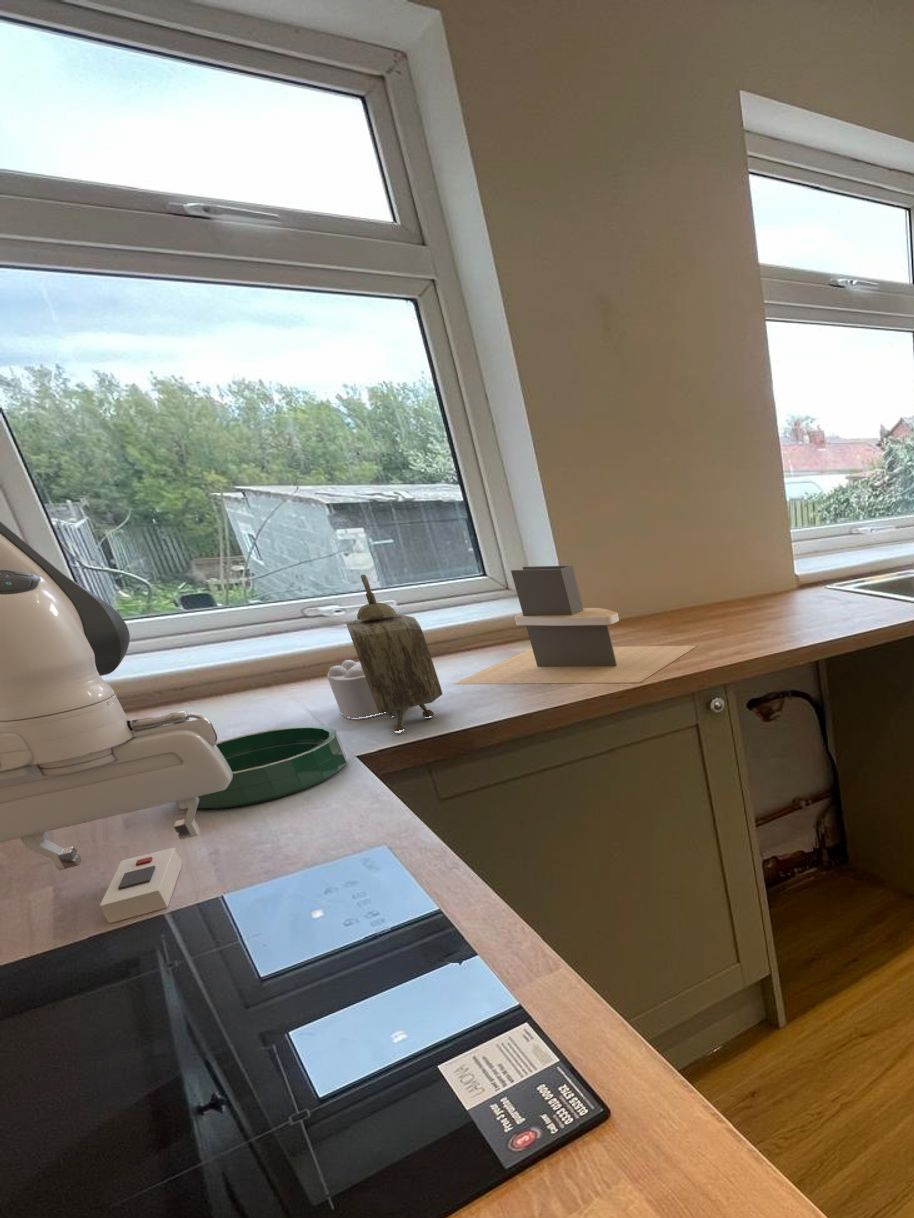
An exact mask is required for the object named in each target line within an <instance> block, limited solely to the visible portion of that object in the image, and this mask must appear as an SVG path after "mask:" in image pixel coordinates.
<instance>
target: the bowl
mask: <svg viewBox="0 0 914 1218" xmlns="http://www.w3.org/2000/svg"><path fill="white" fill-rule="evenodd" d="M215 745H216V746H217V747H218V749H219V750H220V752H221V753H222V755H223V756H224V758H225V759H226V761H227V763H228V765H229V766H230V768H231V770H232V774H233V777H232V780H231V782H230V784H229V785H228V787H227V788H226V789H225V790H223V791H219V792H214V793H210V794H206V795H202V796H198V798H199V803H198V806H197V809H205V810H208V809H209V810H210V809H212V810H213V809H228V808H237V807H243V806H249V805H254V804H255V805H256V804H259V803H263V802H267V801H272V800H276V799H279V798H283V797H287V796H290V795H293V794H295V793H298V792H302V791H304V790H307V789H309V788H311V787H315V786H316V785H318V784H320V783H322V782H324V781H326V780H328V779H330V778H332V777H333V776H334V775H335V774H336V773H338V772H340V770H342V769H343V768H344V766H346V765H347V756H346V754H345V753H346V752H345V751H344V748H343V745H342V743H341V741H340V738H339V736H338V732H337V731H336V730H335V729H333V728H331V727H329V726H321V725H300V726H298V725H297V726H288V727H281V728H273V729H267V730H262V731H257V732H252V733H248V734H242V735H239V736H236V737H232V738H227V739H224V740H220V741H217V742H216V744H215Z"/></svg>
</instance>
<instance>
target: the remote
mask: <svg viewBox="0 0 914 1218" xmlns="http://www.w3.org/2000/svg"><path fill="white" fill-rule="evenodd" d="M183 864H184V863H183V861H182V859H181V857H180V855H179V853H178V852H177V849H176V847H170V848H166V849H163V850H159V851H154V852H150V853H146V854H143V855H142V854H141V855H137V856H134V857H130V858H126V859H122V860H121V861H120V862H119V865H118V867H117V869H116V870H115V873H114V875H113V877H112V879H111V881H110V883H109V885H108V887H107V889H106V891H105V894H104V896H103V898H102V899H101V902H100V904H99V908H100V910H101V912H102V913H103V915H104V917H105V919H106V920H107V922H108V924H113V923H116V922H117V923H118V922H120V921H124V920H128V919H131V918H134V917H139V916H141V915H146V914H149V913H153V912H156V911H160V910H164V909H167V908H168V907H169V905H170V902H171V899H172V895H173V893H174V890H175V887H176V884H177V882H178V879H179V875H180V873H181V869H182V867H183Z"/></svg>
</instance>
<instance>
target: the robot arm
mask: <svg viewBox="0 0 914 1218" xmlns="http://www.w3.org/2000/svg"><path fill="white" fill-rule="evenodd" d="M130 638H131V634H130V631H129V627H128V625H127V623H126V622H125V619H124V618H123V617H122V616H121V614H120V613H119V612H118V611H117V610H116V608H114V607H113V606H111V604H109V603H107V602H106V601H105V600H104V599H102V598H101V597H99V596H98V595H97V594H96V593H93V592H92V591H90V590H89V589H87V588H86V587H83V586H82V585H81V584H79V583H77V581H75V580H73V579H71V578H70V577H69V576H67V575H66V574H64V573H63V572H62V571H60V570H59V569H58V568H57V567H55V566H54V565H53V564H52V563H51V562H49V561H48V560H47V559H46V558H45V557H43V556H42V555H41V554H40V553H39V552H37V551H36V550H35V549H34V548H33V547H31V546H30V545H29V544H28V543H27V542H25V540H23V539H22V538H21V537H20V536H19V535H17V533H15V532H13V531H12V530H11V529H10V528H9V527H8V526H6V524H4V523H3V522H2V521H0V843H4V842H9V841H13V840H17V839H20V840H21V842H22V843H23V845H24V846H25V848H27V849H30V850H32V851H34V852H36V853H38V854H40V855H43V856H45V857H47V858H50V859H51V861H52V863H53V865H54V866H55V868H56V869H57V870H58V871H63V870H66V869H67V870H68V869H71V868H74V867H78V866H80V865H81V863H82V858H81V855H80V854H78V853H77V852H78V850H77V849H76V847H75V846H67V847H61V846H60V845H59V844H56V843H54V842H53V841H50V840H49V839H47V838H48V837H49V835H50V832H51V831H56V830H60V829H64V828H68V827H73V826H76V825H77V826H78V825H81V824H85V823H90V822H94V821H98V820H102V819H108V818H111V817H117V816H120V815H123V814H128V813H132V812H137V811H142V810H146V809H150V808H154V807H159V806H162V805H166V804H172V803H175V802H176V804H177V806H178V808H179V809H180V810H186V809H187V810H186V814H185V817H184V818H183V819H179V820H176V821H175V822H174V825H173V828H174V830H175V832H176V833H177V834H178V835H177V836H178V838H179V839H180V840H182V841H183V840H186V839H188V838H193V837H197V836H199V835H200V833H201V832H200V827H199V825H198V824H197V822H196V820H195V816H196V813H197V809H198V808H197V806H198V803H199V798H198V796H202V795H206V794H210V793H214V792H219V791H223V790H225V789H226V788H227V787H228V785H229V784H230V782H231V780H232V777H233V774H232V770H231V768H230V766H229V765H228V763H227V761H226V759H225V758H224V756H223V755H222V753H221V752H220V750H219V749H218V747H217V746H216V745H215V744H216V743H217V742H218V734H217V731H216V730H215V728H214V725H213V723H212V722H211V721H210V720H209V719H208V718H207V717H205V716H203V715H201V714H198V713H197V714H196V713H188V712H187V711H176V712H171V713H168V714H165V715H159V716H149V717H143V718H137V719H132V720H129V719H128V717H127V714H126V712H125V710H124V709H123V706H122V705H121V703H120V701H119V699H118V697H117V694H116V693H115V691H114V689H113V688H112V687H111V686H110V685H109V684H108V683H107V682H106V681H105V680H104V678H102V676H103V677H104V676H108V675H110V674H112V673H113V672H115V670H116V669H117V668H118V667H119V666H120V665H121V663H122V661H123V660H124V658H125V656H126V654H127V652H128V649H129V645H130ZM190 718H192V719H190Z"/></svg>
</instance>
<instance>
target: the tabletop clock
mask: <svg viewBox="0 0 914 1218" xmlns="http://www.w3.org/2000/svg"><path fill="white" fill-rule="evenodd" d="M360 578H361V582H362V584H363V586H364V590H365V597H366V600H367V602H368V603H366V604H364V605H362V606H361V607H360V608H359V609H358V612H357V615H356V616H357V617H356V619H355V620H350V621H349V620H348V621H345V624H346V628H347V630H348V633H349V635H350V638H351V641H352V644H353V647H354V649H355V652H356V655H357V657H358V662H360V663H361V666H362V669H363V672H364V674H365V677H366V680H367V683H368V685H369V688H370V691H371V694H372V696H373V699H374V702H375V704H376V707H377V710H378V712H379V713H384V712H386V714H385V715H386V716H387V717H388V718H391V717H392V716H396V715H397V716H396V718H397V719H396V722H397V723H396V724H394V725H393V727H392V731H393V732H394V731H399V730H403V729H405V730H406V727H405V726H404V725H403V724H402V723H403V719H404V716H405V713H406V712H407V710H408V709H409V708H408V707H410V708H412V707H417V706H419V707H420V709H421V710H422V717H423V716H424V717H423V718H425V717H429V716H433V715H434V716H435V712H434V711H433V710H431V709H427V707H426V705H427V704H431V703H434V702H435V701H436V700H438V699H439V698H440V697H441V696H442V695H443V690H442V687H441V684H440V681H439V677H438V674H437V671H436V668H435V666H434V661H433V659H432V656H431V653H430V649H429V647H428V644H427V641H426V638H425V635H424V632H423V630H422V629H423V628H422V627H421V625H420V623H419V622H418V620H417V619H416V618H415V617H413V616H409V615H407V614H406V615H405V614H402V613H398V612H397V611H396V610H395V608H393V607H392V606H391V605H388V604H387V603H386V602H385V603H384V602H378V601H377V599H376V596H375V594H374V592H372V588H371V586H370V583H369V579H368V577H367V576H366V574H361V575H360ZM434 716H433V717H434ZM430 719H432V718H429V719H428V720H430Z"/></svg>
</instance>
